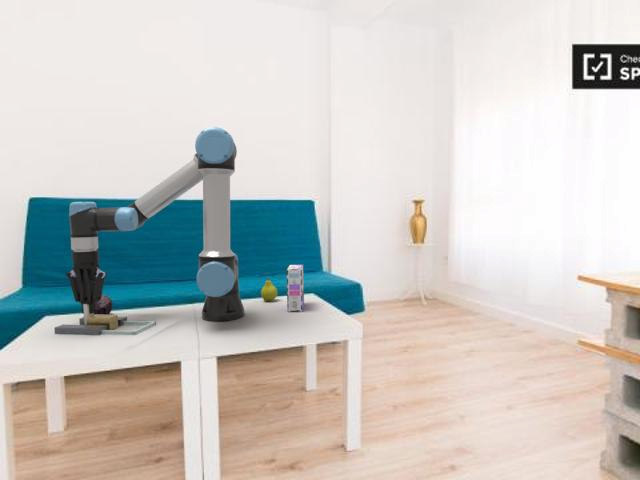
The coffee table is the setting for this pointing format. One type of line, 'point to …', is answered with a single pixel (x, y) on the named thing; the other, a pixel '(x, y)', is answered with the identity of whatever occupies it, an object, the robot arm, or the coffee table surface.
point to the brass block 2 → (109, 321)
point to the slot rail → (85, 328)
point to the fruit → (268, 291)
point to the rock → (103, 305)
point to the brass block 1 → (93, 319)
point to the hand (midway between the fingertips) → (89, 323)
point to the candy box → (295, 288)
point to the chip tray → (116, 332)
